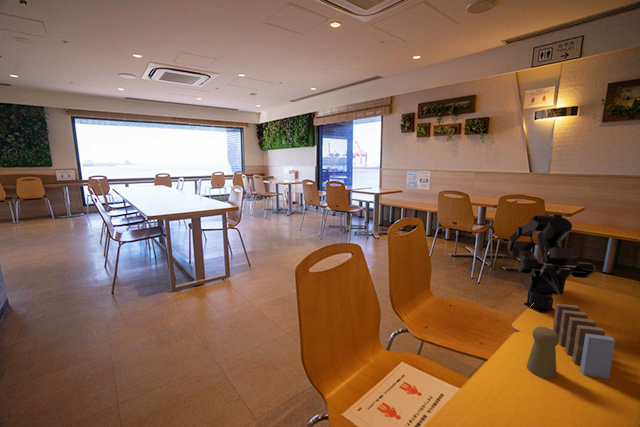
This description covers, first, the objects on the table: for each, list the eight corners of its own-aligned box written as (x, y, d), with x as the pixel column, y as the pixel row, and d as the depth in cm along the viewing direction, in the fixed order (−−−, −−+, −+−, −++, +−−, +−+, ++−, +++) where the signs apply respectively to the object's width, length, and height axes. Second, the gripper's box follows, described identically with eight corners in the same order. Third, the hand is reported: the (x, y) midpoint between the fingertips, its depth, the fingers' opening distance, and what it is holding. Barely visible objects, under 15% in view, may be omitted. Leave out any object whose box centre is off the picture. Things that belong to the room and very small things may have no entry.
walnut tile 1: (552, 334, 90) (556, 303, 88) (572, 337, 88) (576, 305, 86) (554, 337, 88) (558, 306, 86) (575, 340, 87) (579, 308, 85)
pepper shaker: (551, 365, 77) (556, 325, 75) (560, 381, 71) (567, 339, 69) (523, 360, 79) (527, 321, 77) (530, 376, 73) (535, 334, 71)
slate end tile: (579, 370, 75) (585, 333, 73) (604, 374, 73) (611, 336, 71) (583, 374, 73) (589, 337, 71) (608, 378, 72) (615, 340, 70)
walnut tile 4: (571, 360, 78) (577, 324, 77) (595, 363, 77) (601, 327, 75) (575, 364, 77) (580, 328, 75) (599, 367, 75) (605, 331, 74)
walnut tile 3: (564, 351, 82) (569, 317, 80) (586, 354, 81) (592, 319, 79) (567, 354, 81) (572, 320, 79) (590, 357, 79) (595, 322, 77)
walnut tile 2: (558, 342, 86) (562, 310, 84) (579, 345, 84) (584, 312, 83) (560, 345, 84) (565, 312, 83) (582, 348, 83) (587, 315, 81)
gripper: (524, 234, 95) (533, 280, 87) (597, 237, 90) (614, 287, 82) (514, 250, 104) (521, 294, 96) (579, 254, 99) (593, 301, 90)
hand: (560, 294), depth 91 cm, fingers closed
